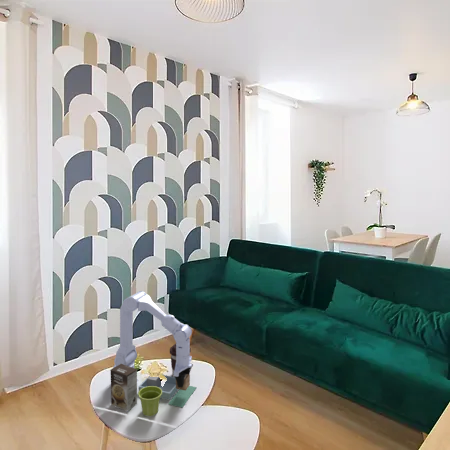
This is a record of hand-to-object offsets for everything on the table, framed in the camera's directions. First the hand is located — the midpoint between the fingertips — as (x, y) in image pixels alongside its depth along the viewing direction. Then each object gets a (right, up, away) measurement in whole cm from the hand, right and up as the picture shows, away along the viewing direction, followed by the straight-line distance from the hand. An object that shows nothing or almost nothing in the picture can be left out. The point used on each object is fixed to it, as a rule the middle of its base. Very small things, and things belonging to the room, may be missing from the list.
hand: (183, 383), depth 161 cm
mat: (0, -6, +1) cm, 6 cm away
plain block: (-14, -5, +7) cm, 16 cm away
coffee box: (-24, -7, -6) cm, 25 cm away
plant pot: (-12, -8, -10) cm, 17 cm away
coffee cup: (-3, -4, +18) cm, 19 cm away
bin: (-11, -5, +6) cm, 13 cm away
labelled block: (0, -1, 0) cm, 2 cm away
